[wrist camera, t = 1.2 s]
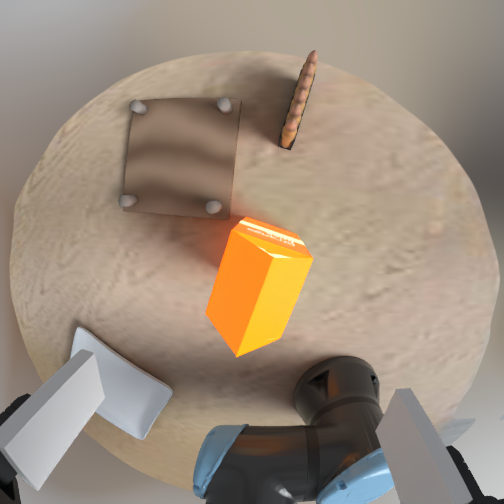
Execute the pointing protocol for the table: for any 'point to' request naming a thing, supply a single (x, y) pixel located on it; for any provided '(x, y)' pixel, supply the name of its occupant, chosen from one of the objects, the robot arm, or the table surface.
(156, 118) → the peg stand
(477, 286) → the table surface
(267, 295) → the orange juice
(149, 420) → the salad plate
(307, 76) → the ammunition clip
